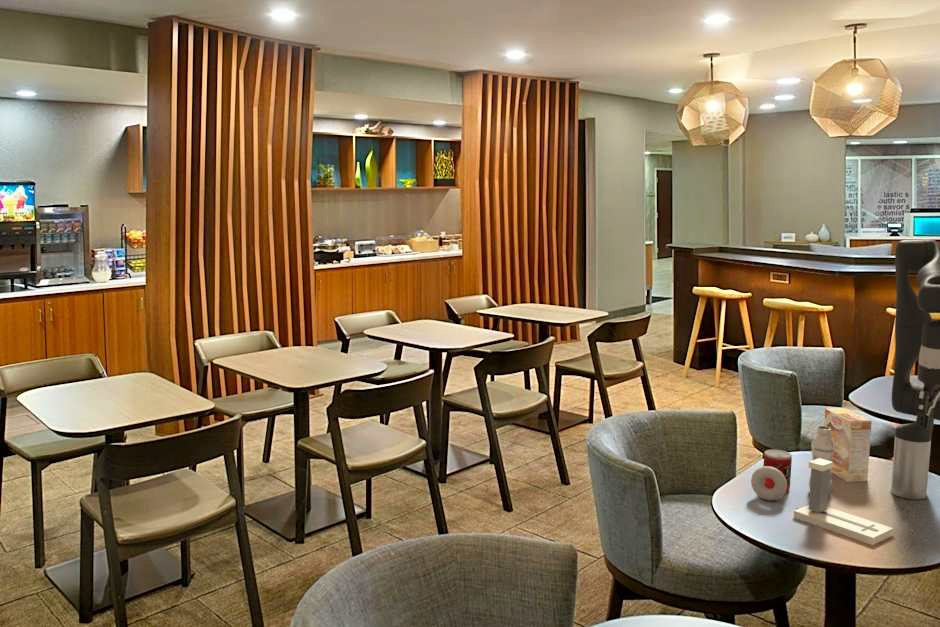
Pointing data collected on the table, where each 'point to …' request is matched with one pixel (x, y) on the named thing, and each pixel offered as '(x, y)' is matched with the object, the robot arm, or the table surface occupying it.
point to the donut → (772, 474)
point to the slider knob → (819, 484)
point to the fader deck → (846, 524)
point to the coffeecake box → (849, 443)
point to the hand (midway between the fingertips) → (930, 423)
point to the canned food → (778, 465)
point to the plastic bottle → (823, 448)
